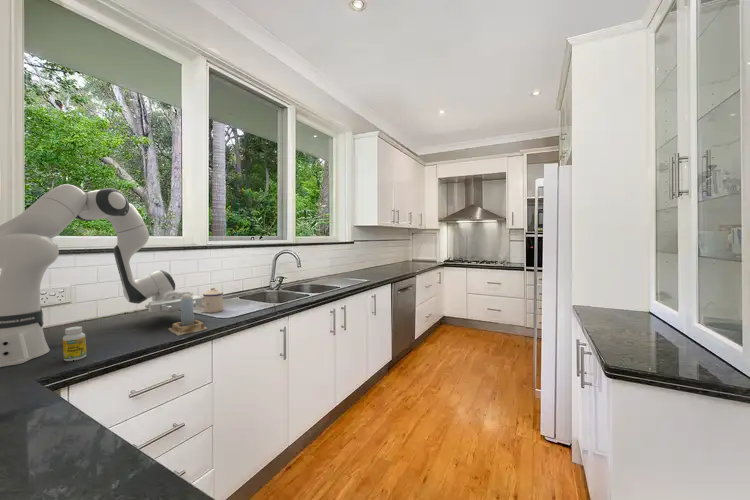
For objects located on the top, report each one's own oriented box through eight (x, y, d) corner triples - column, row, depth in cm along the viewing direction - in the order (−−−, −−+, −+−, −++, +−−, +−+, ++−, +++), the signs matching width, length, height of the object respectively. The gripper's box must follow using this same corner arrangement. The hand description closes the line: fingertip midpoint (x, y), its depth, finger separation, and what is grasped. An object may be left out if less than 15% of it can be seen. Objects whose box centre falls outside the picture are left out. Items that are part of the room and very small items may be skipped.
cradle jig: (177, 335, 129) (177, 328, 128) (168, 329, 136) (168, 323, 136) (207, 329, 137) (207, 323, 137) (197, 324, 144) (197, 318, 144)
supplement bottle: (84, 353, 110) (83, 324, 109) (88, 357, 106) (86, 327, 106) (62, 358, 106) (60, 328, 105) (65, 362, 102) (63, 331, 102)
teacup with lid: (222, 308, 175) (222, 285, 174) (224, 311, 167) (223, 288, 166) (196, 310, 169) (195, 287, 168) (197, 314, 161) (196, 290, 160)
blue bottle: (183, 330, 133) (182, 295, 132) (179, 328, 136) (178, 293, 135) (195, 328, 136) (194, 293, 136) (191, 325, 139) (190, 292, 138)
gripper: (143, 298, 142) (152, 303, 132) (195, 291, 157) (207, 295, 147) (144, 313, 142) (153, 319, 133) (195, 305, 157) (207, 310, 148)
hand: (182, 306), depth 140 cm, fingers open, 8 cm apart
